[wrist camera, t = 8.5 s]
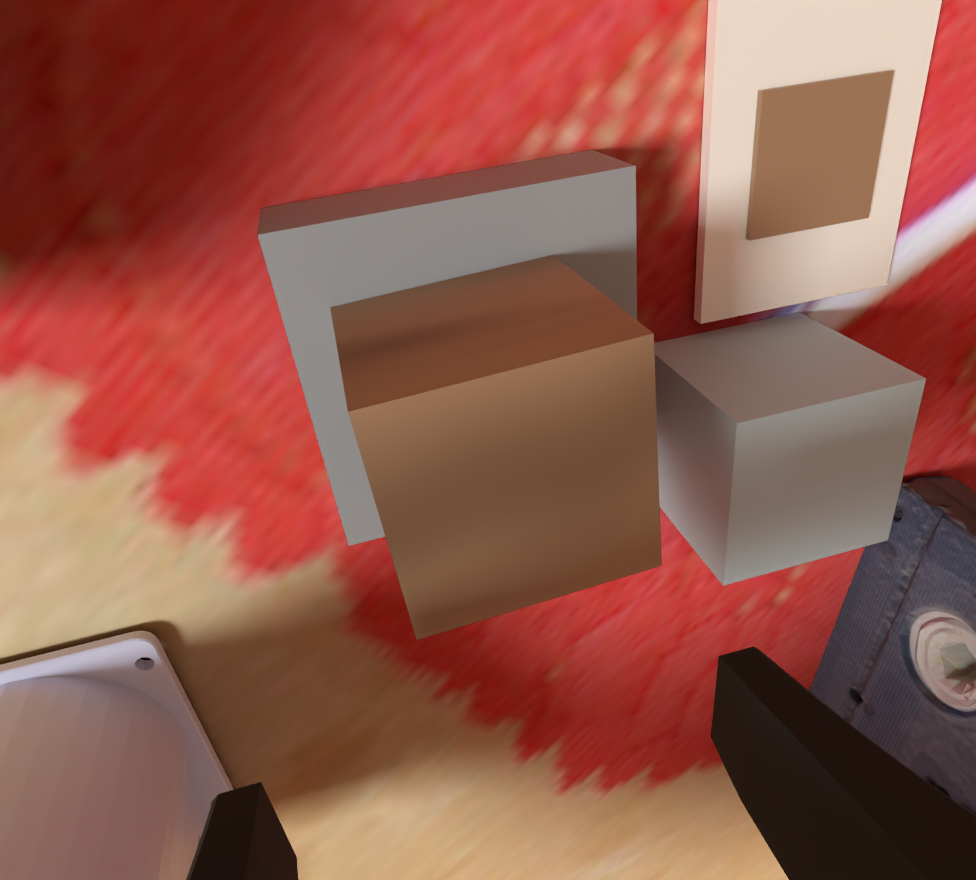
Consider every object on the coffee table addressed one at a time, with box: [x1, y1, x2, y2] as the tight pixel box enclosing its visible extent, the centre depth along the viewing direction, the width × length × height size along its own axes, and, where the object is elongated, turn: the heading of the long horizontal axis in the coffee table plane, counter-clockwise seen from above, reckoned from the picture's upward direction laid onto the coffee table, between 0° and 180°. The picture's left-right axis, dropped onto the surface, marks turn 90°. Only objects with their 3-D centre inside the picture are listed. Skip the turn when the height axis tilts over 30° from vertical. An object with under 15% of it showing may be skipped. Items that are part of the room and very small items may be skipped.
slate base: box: [258, 150, 637, 546], centre depth 18 cm, size 8×8×3 cm
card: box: [694, 0, 942, 324], centre depth 18 cm, size 8×6×1 cm
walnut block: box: [330, 255, 662, 640], centre depth 14 cm, size 5×5×5 cm
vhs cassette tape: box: [809, 476, 976, 815], centre depth 26 cm, size 18×3×10 cm, turn 176°
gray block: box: [654, 312, 926, 585], centre depth 20 cm, size 5×5×5 cm
